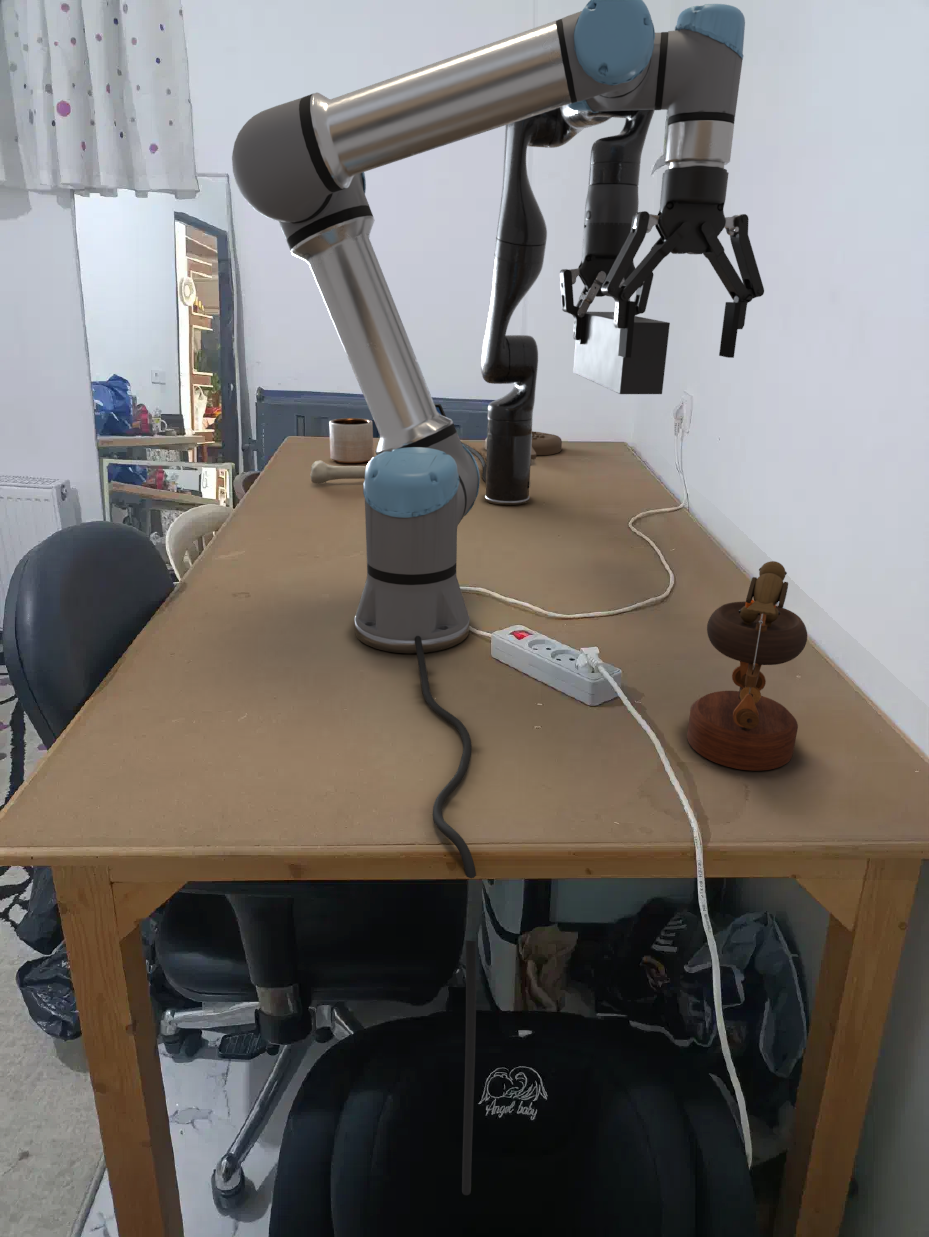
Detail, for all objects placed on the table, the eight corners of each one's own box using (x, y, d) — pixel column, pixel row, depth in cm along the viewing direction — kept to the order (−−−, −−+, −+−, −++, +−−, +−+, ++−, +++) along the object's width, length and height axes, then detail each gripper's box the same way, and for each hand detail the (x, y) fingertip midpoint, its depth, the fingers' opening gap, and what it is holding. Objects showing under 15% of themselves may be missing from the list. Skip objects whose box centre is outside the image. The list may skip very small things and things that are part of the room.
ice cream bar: (490, 464, 211) (490, 447, 209) (483, 443, 237) (483, 428, 235) (573, 465, 212) (575, 448, 210) (557, 444, 238) (558, 429, 236)
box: (662, 394, 113) (670, 322, 109) (619, 394, 112) (626, 322, 108) (609, 372, 134) (614, 312, 130) (572, 372, 133) (577, 311, 129)
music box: (815, 783, 80) (835, 585, 73) (696, 783, 82) (704, 589, 74) (778, 707, 94) (791, 534, 87) (677, 708, 96) (682, 538, 88)
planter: (327, 456, 217) (325, 418, 214) (369, 454, 220) (368, 417, 217) (334, 465, 208) (332, 425, 204) (377, 463, 211) (376, 424, 207)
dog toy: (399, 478, 195) (399, 457, 193) (401, 484, 190) (401, 462, 188) (310, 480, 192) (309, 458, 190) (310, 486, 187) (309, 464, 185)
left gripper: (779, 174, 104) (753, 354, 112) (584, 167, 100) (572, 353, 109) (811, 168, 97) (782, 359, 106) (603, 160, 94) (589, 359, 102)
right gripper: (649, 223, 126) (638, 342, 132) (555, 221, 124) (548, 341, 130) (668, 221, 119) (655, 346, 125) (568, 219, 117) (561, 346, 123)
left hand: (675, 357), depth 107 cm, fingers open, 13 cm apart
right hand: (600, 343), depth 128 cm, fingers closed on box, 6 cm apart
